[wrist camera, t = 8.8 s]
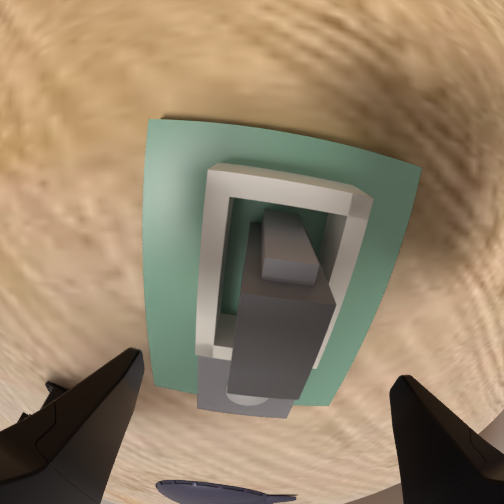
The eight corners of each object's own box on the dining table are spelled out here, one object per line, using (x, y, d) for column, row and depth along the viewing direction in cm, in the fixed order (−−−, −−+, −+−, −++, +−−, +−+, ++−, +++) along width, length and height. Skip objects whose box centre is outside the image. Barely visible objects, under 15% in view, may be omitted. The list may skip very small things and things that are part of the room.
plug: (282, 327, 18) (289, 418, 11) (235, 321, 17) (224, 412, 11) (309, 215, 15) (343, 282, 8) (252, 207, 14) (244, 269, 8)
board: (326, 393, 22) (333, 433, 18) (159, 373, 22) (145, 412, 18) (409, 164, 14) (452, 177, 10) (158, 119, 14) (122, 117, 10)
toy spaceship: (302, 483, 35) (303, 498, 32) (285, 509, 44) (285, 519, 41) (141, 468, 35) (137, 482, 32) (169, 499, 45) (167, 509, 42)
